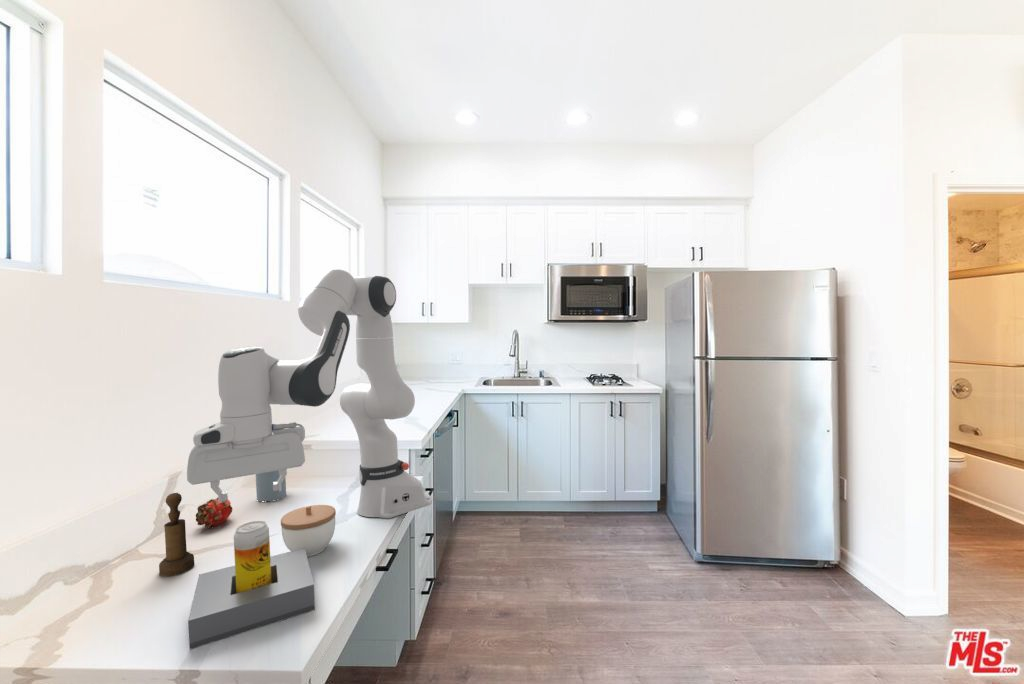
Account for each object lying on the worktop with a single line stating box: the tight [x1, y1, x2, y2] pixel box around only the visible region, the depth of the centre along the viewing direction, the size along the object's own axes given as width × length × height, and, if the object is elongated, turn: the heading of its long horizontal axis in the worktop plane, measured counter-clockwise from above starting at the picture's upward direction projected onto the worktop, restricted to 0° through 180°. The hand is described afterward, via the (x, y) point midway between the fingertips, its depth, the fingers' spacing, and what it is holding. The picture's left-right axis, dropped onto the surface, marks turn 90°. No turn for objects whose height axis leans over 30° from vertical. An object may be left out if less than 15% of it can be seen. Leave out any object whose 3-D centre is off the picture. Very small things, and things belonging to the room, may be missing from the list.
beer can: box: [233, 520, 272, 594], centre depth 89 cm, size 6×6×15 cm
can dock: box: [187, 548, 316, 650], centre depth 90 cm, size 20×18×5 cm
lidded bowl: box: [280, 504, 337, 558], centre depth 112 cm, size 13×13×11 cm
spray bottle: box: [255, 423, 287, 503], centre depth 152 cm, size 9×9×25 cm
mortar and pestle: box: [158, 492, 195, 577], centre depth 105 cm, size 7×6×18 cm
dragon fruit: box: [195, 497, 234, 529], centre depth 130 cm, size 8×8×12 cm
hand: (251, 496), depth 89 cm, fingers open, 8 cm apart
